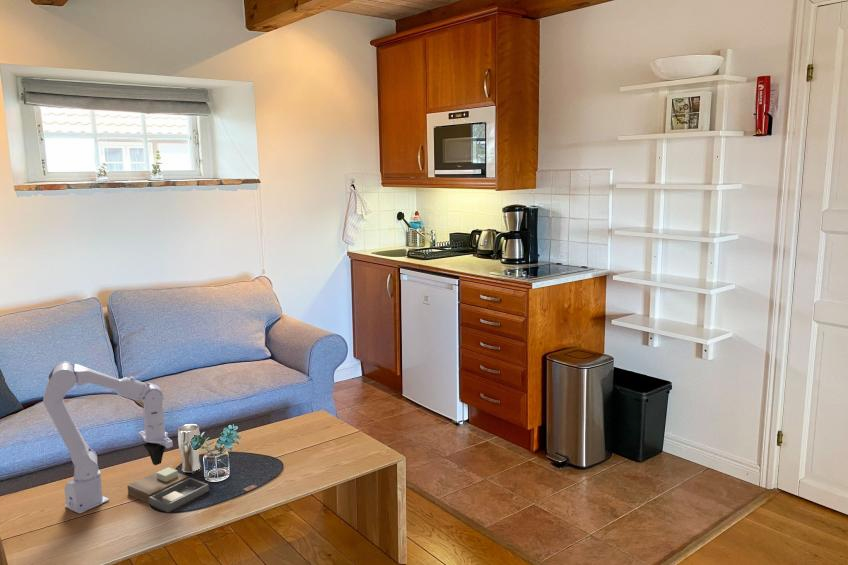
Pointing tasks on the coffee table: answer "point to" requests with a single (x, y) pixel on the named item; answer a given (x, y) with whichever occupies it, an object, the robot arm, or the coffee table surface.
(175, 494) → the cream tile
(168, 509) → the box
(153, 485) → the walnut board
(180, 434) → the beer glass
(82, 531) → the coffee table surface
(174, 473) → the sage tile
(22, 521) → the coffee table surface
